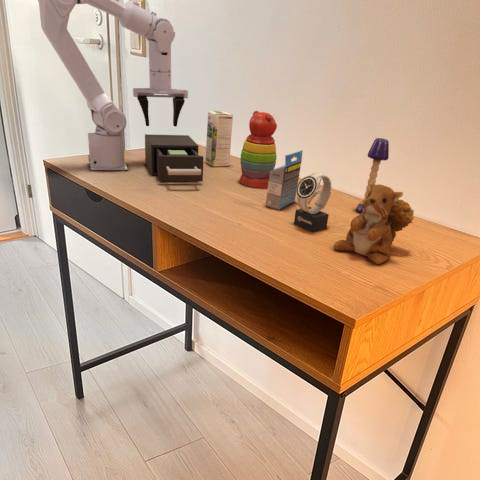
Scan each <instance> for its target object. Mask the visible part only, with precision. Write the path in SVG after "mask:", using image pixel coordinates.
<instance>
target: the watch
mask: <svg viewBox="0 0 480 480" xmlns="http://www.w3.org/2000/svg"><path fill="white" fill-rule="evenodd" d="M321 183H322V189H321V190H320V185H321ZM331 194H332V180H331V179H330V177H329V176H328V175H325V174H323V173H322V174H321V173H318V172H314V173H310V174H308V175H307V176H305V177H302V179H301V180H300V181H298V185H297V189H296V200H297V203H298V207H299V208H298V209H295V212H294V221H293V225H296V226H298V227H300V228H303V229H304V230H307V231H310V232H312V233H314V232H318V231H322V230H325V229H327V227H328V221H329V215H330V214H329V213H327V212H324V211H322V210H324V209H325V207H326V205H327V204H328V201H329V199H330V198H331ZM317 195H318V197H317ZM316 197H317V199H316V201H314V205H313V206H312V207H311V206H308V205H310V203H311V202H312V200H313V199H314V198H316Z"/></svg>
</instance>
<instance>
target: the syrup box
mask: <svg viewBox="0 0 480 480" xmlns="http://www.w3.org/2000/svg"><path fill="white" fill-rule="evenodd" d="M233 119H234V114H231V113H229V112H227V111H224V110H208V111H207V124H206V125H207V126H206V141H205V142H206V144H205V163H207V164H208V165H209V166H211V167H230V160H231V147H232V146H231V145H232V134H233V133H232V132H233V121H234V120H233Z"/></svg>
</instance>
